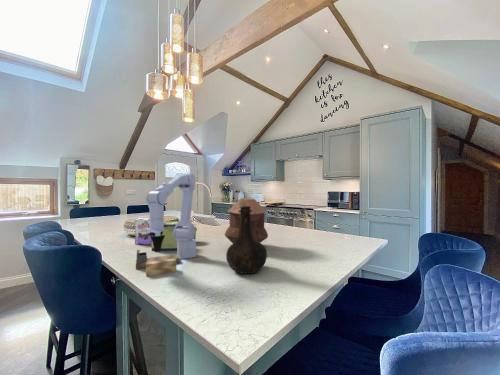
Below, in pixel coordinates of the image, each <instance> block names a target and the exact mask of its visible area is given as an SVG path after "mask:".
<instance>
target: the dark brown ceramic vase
mask: <svg viewBox="0 0 500 375" xmlns="http://www.w3.org/2000/svg"><path fill="white" fill-rule="evenodd" d="M250 208H251V207H250V206H242V207H240V209H241V210H240V211H238V212H240V228H239V235H238V239H237V241H236V242H235V243H234V244H233V243H232V244H231V245H230V246H229V247H228V248H227V250H226V256H225V257H226V258H225V260H226V263H227V264H228V266H229V267H230V268H231V270H233V271H235V272H236V273H240V274H253V273H256V272H259V271H260V270H261V269H263V267H264V266H265V264H266V262H267V258H268V257H267V256H268V254H267V250H266V247H265V246H264V245H263V243H262V242H261V243H258V242H255V241H254V239H253V235H252V229H251V218H250V212H252V210H250Z"/></svg>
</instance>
